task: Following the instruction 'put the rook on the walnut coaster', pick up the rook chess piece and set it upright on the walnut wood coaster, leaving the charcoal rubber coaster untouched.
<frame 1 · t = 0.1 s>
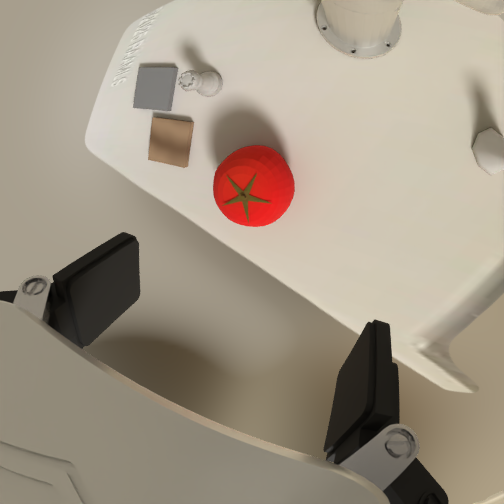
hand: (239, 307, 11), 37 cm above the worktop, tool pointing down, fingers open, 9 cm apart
walnut coaster: (171, 141, 48), on the worktop
charcoal coaster: (156, 88, 45), on the worktop
rook chess piece: (211, 84, 42), on the worktop
tomato: (264, 179, 46), on the worktop
flask: (490, 151, 32), on the worktop
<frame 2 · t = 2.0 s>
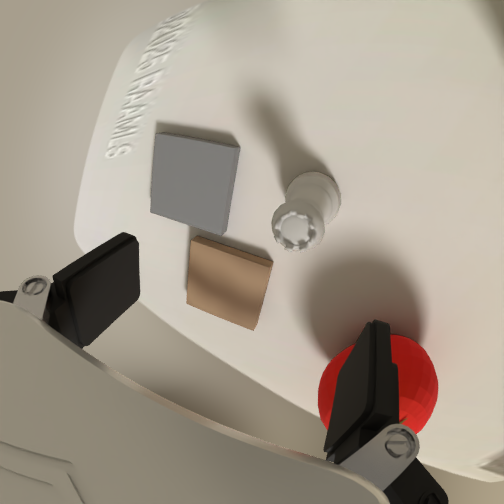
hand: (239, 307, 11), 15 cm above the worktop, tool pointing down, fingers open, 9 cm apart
walnut coaster: (228, 281, 30), on the worktop
charcoal coaster: (193, 180, 26), on the worktop
rook chess piece: (314, 196, 24), on the worktop
tomato: (380, 356, 28), on the worktop
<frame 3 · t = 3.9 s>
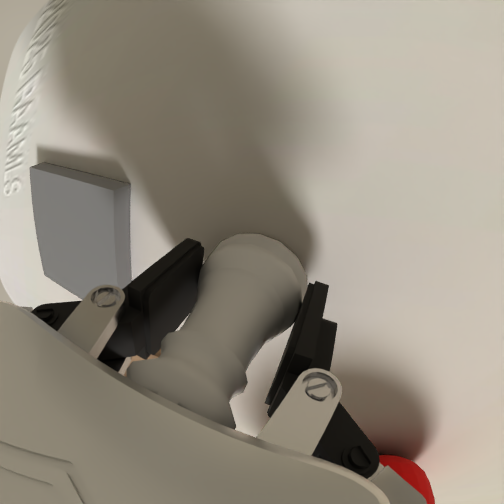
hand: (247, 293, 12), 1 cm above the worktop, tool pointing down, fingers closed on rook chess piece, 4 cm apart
charcoal coaster: (82, 235, 16), on the worktop
rook chess piece: (260, 274, 13), on the worktop, touching gripper
tomato: (365, 462, 17), on the worktop
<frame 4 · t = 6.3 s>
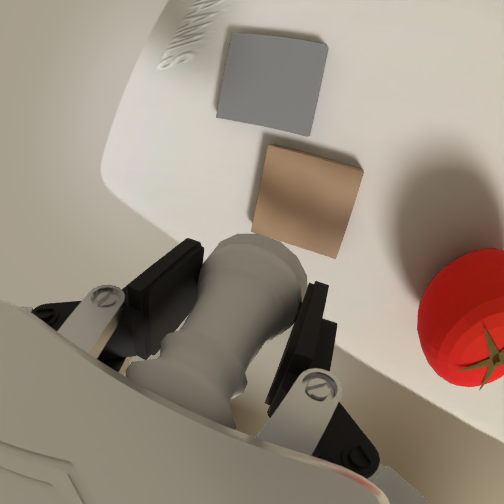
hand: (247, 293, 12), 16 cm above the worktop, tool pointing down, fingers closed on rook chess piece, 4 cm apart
walnut coaster: (306, 199, 25), on the worktop
charcoal coaster: (272, 81, 22), on the worktop
rook chess piece: (260, 275, 13), point 14 cm above the worktop, touching gripper
tomato: (465, 286, 23), on the worktop
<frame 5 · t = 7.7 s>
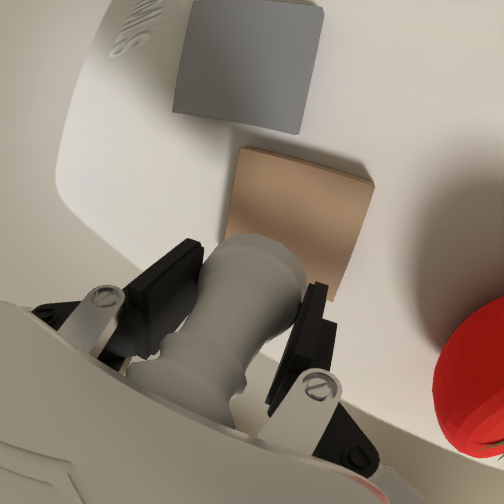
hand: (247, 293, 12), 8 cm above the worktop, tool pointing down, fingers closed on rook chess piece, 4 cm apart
walnut coaster: (294, 222, 19), on the worktop
charcoal coaster: (247, 60, 15), on the worktop
rook chess piece: (259, 275, 13), point 7 cm above the worktop, touching gripper
tomato: (491, 329, 17), on the worktop
when the fingers open (3 cm above the worktop, at t = 8.9 s): rook chess piece stays where it is, resting on walnut coaster.
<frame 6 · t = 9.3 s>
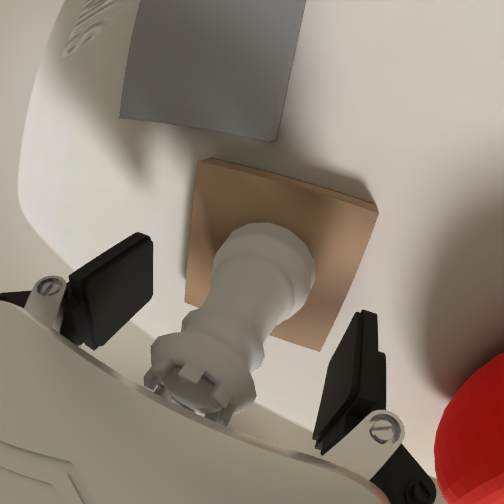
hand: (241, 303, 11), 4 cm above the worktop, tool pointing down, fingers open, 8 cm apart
walnut coaster: (271, 255, 15), on the worktop
charcoal coaster: (210, 47, 11), on the worktop
rook chess piece: (269, 262, 14), point 1 cm above the worktop, touching walnut coaster
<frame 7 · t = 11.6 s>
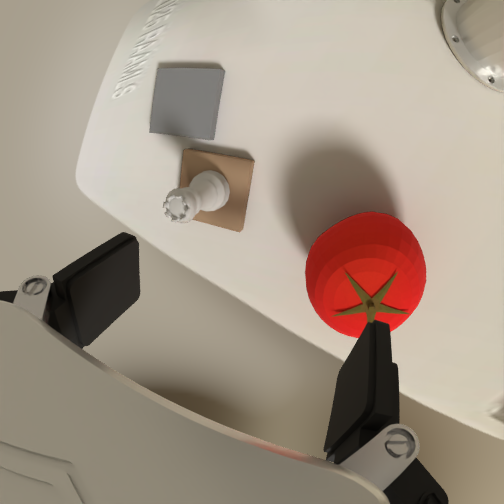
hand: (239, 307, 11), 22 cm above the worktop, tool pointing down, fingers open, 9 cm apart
walnut coaster: (215, 188, 33), on the worktop
charcoal coaster: (187, 102, 30), on the worktop
rook chess piece: (213, 188, 32), point 1 cm above the worktop, touching walnut coaster
tomato: (364, 253, 31), on the worktop
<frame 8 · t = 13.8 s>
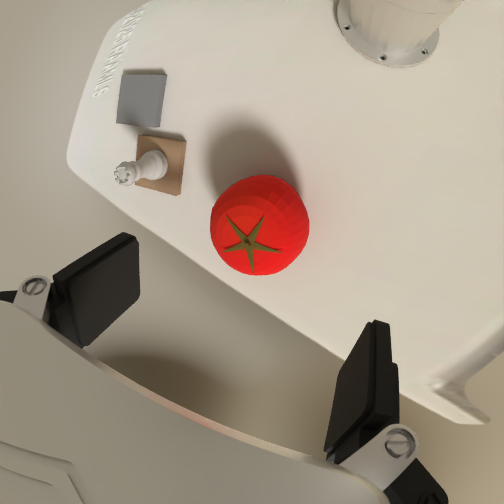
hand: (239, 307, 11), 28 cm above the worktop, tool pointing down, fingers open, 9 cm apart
walnut coaster: (161, 163, 41), on the worktop
charcoal coaster: (142, 99, 38), on the worktop
rook chess piece: (158, 163, 40), point 1 cm above the worktop, touching walnut coaster
tomato: (271, 212, 39), on the worktop
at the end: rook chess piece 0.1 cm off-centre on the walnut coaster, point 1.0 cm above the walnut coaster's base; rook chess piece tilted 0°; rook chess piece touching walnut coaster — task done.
